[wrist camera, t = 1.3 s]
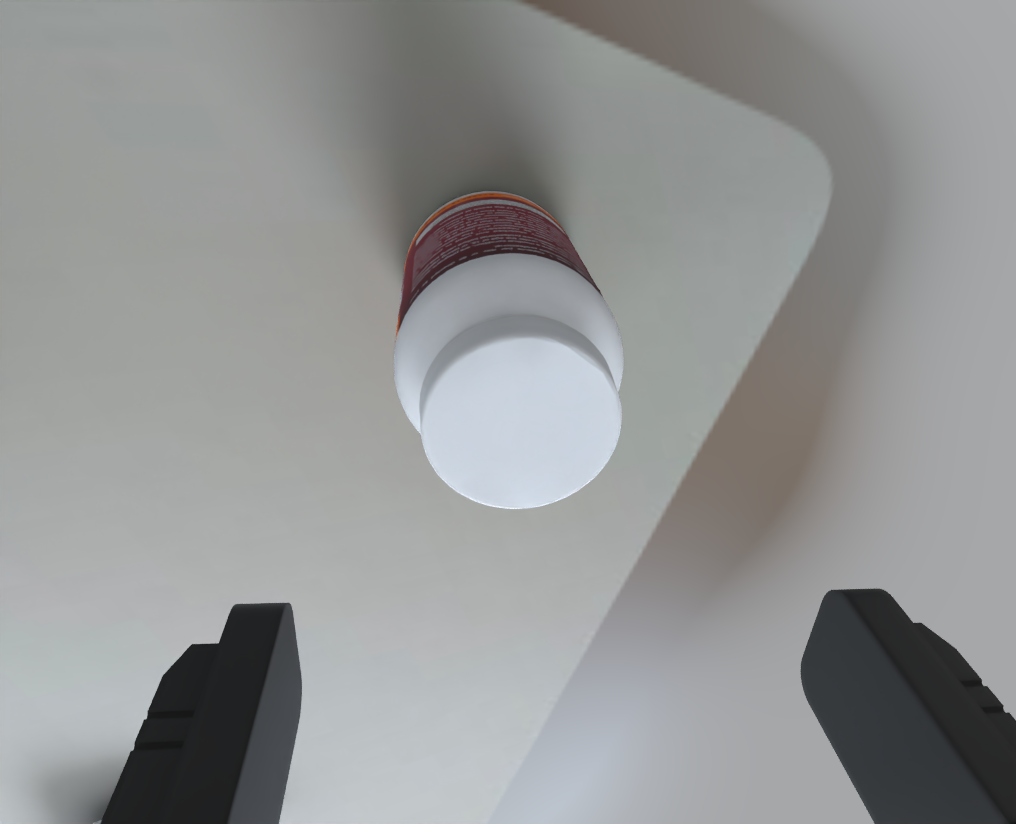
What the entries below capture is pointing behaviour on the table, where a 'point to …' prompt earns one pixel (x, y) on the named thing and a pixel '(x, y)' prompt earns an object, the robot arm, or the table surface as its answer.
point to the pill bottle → (506, 353)
